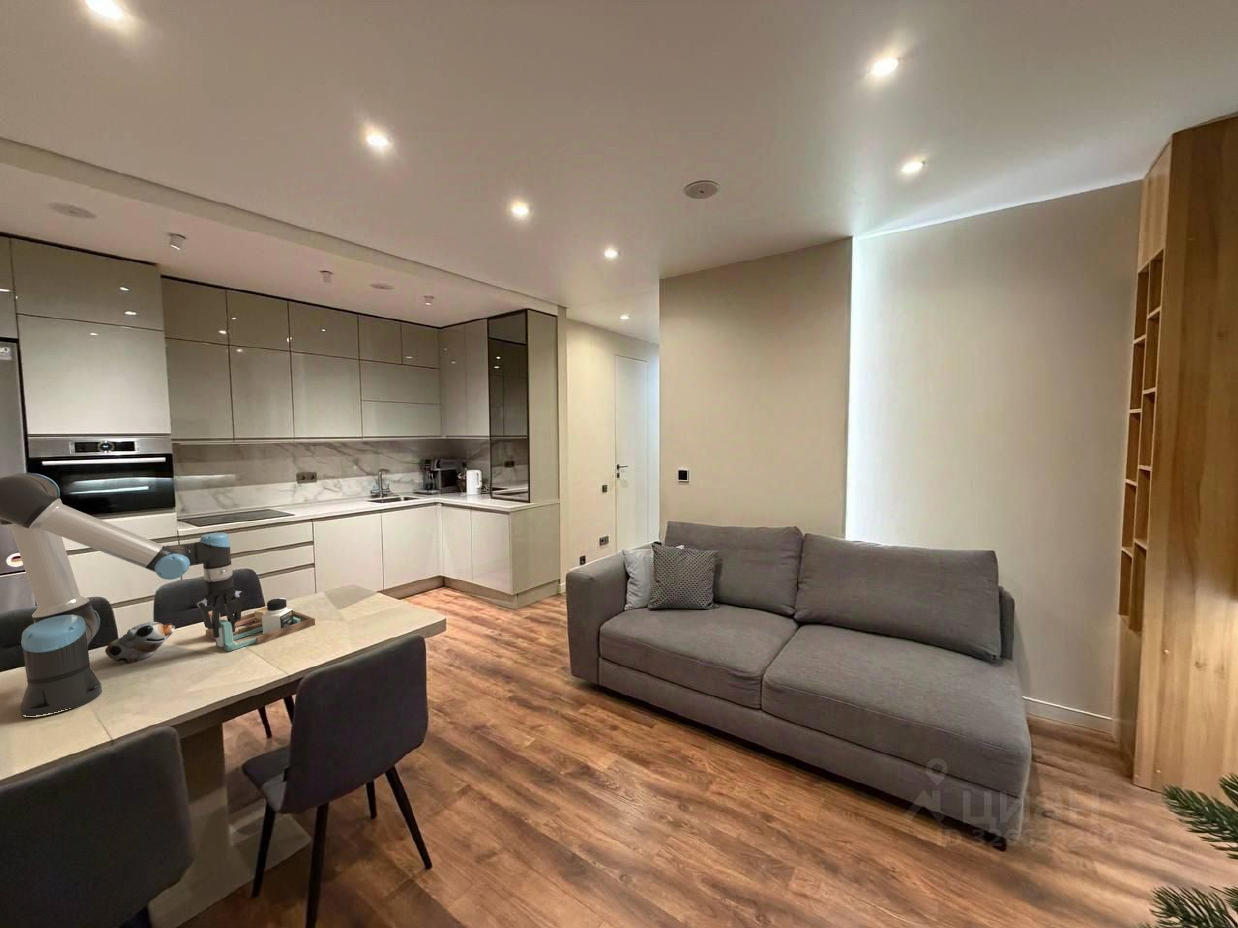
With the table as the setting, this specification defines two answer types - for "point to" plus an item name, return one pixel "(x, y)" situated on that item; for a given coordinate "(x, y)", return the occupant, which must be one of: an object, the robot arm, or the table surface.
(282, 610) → the medicine bottle
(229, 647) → the frame
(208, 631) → the sled
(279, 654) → the table surface
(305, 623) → the lane rails
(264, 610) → the oak cube
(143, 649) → the lucky cat figurine
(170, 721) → the table surface
